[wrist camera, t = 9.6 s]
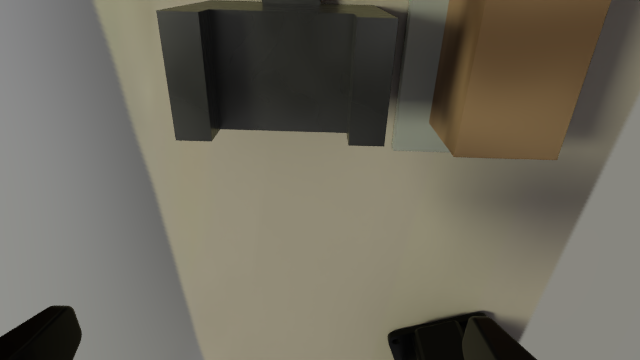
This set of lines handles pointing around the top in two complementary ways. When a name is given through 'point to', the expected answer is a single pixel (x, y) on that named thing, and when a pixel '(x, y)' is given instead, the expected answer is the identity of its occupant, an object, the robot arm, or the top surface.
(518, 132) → the rail
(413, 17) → the pad
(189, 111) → the rack
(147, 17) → the top surface
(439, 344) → the robot arm
